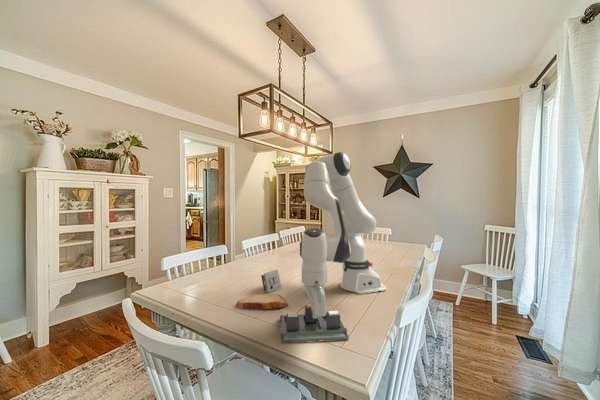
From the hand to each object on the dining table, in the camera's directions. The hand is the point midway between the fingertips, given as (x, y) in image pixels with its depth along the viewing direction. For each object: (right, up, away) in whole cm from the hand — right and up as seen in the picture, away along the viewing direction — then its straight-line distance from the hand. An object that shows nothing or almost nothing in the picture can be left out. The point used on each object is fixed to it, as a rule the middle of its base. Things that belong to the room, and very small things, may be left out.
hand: (314, 316), depth 83 cm
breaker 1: (-8, -4, -2) cm, 9 cm away
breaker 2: (+6, -4, -1) cm, 7 cm away
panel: (-1, -5, +2) cm, 5 cm away
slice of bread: (-21, -5, +20) cm, 29 cm away
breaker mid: (-1, -4, +5) cm, 6 cm away
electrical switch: (-20, -5, +37) cm, 42 cm away
